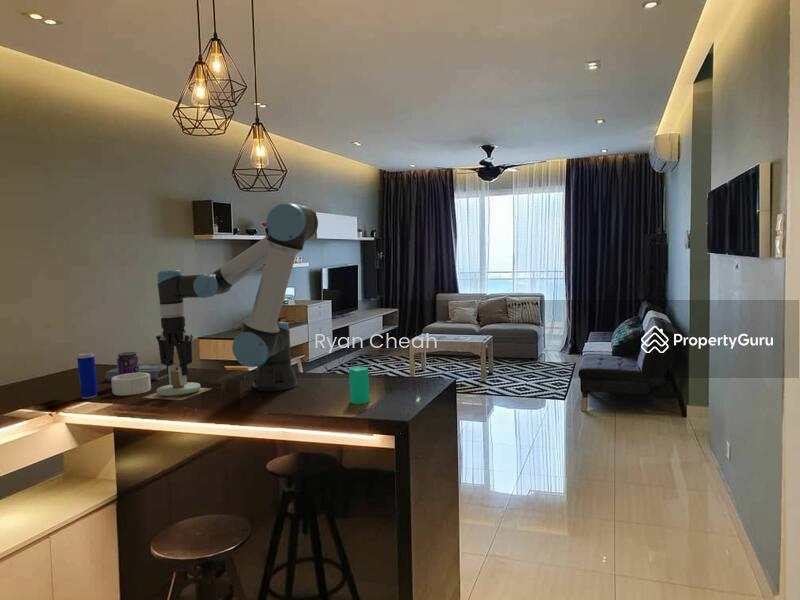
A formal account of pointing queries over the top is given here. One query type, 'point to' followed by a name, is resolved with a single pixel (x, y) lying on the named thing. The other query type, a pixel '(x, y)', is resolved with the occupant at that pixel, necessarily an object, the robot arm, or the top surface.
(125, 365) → the beverage can
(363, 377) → the candle
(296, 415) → the top surface
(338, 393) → the top surface
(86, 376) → the beverage can
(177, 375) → the lid
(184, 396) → the trivet
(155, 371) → the book
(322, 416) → the top surface
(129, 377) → the bowl
